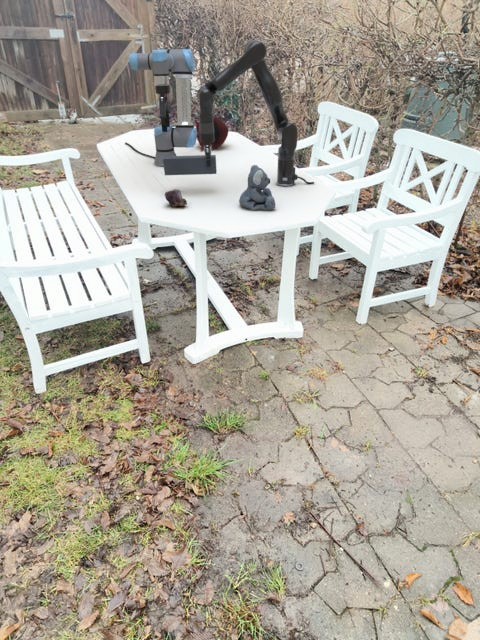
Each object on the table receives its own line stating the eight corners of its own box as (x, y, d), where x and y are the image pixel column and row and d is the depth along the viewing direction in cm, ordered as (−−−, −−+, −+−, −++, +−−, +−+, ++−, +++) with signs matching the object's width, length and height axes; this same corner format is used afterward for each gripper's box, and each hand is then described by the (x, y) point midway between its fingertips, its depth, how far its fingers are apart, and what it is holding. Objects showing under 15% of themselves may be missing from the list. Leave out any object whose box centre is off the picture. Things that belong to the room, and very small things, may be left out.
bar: (164, 175, 238) (163, 158, 234) (165, 172, 243) (164, 156, 238) (216, 173, 239) (215, 157, 234) (216, 171, 243) (215, 154, 238)
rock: (181, 203, 237) (163, 205, 233) (179, 186, 233) (160, 188, 229) (189, 206, 227) (170, 209, 223) (187, 189, 224) (168, 191, 220)
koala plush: (276, 211, 223) (277, 171, 212) (240, 212, 222) (240, 172, 211) (271, 199, 237) (272, 161, 226) (237, 200, 236) (237, 162, 225)
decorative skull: (193, 122, 333) (191, 119, 309) (224, 115, 332) (225, 111, 308) (200, 152, 340) (198, 151, 316) (231, 145, 339) (231, 144, 315)
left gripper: (167, 87, 219) (171, 133, 231) (171, 82, 240) (175, 124, 252) (151, 87, 219) (156, 134, 231) (157, 82, 240) (161, 124, 252)
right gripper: (214, 134, 223) (215, 169, 233) (214, 128, 235) (215, 161, 245) (199, 135, 223) (201, 169, 233) (199, 128, 235) (202, 161, 245)
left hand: (166, 129), depth 241 cm, fingers open, 13 cm apart
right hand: (208, 165), depth 239 cm, fingers closed on bar, 5 cm apart
